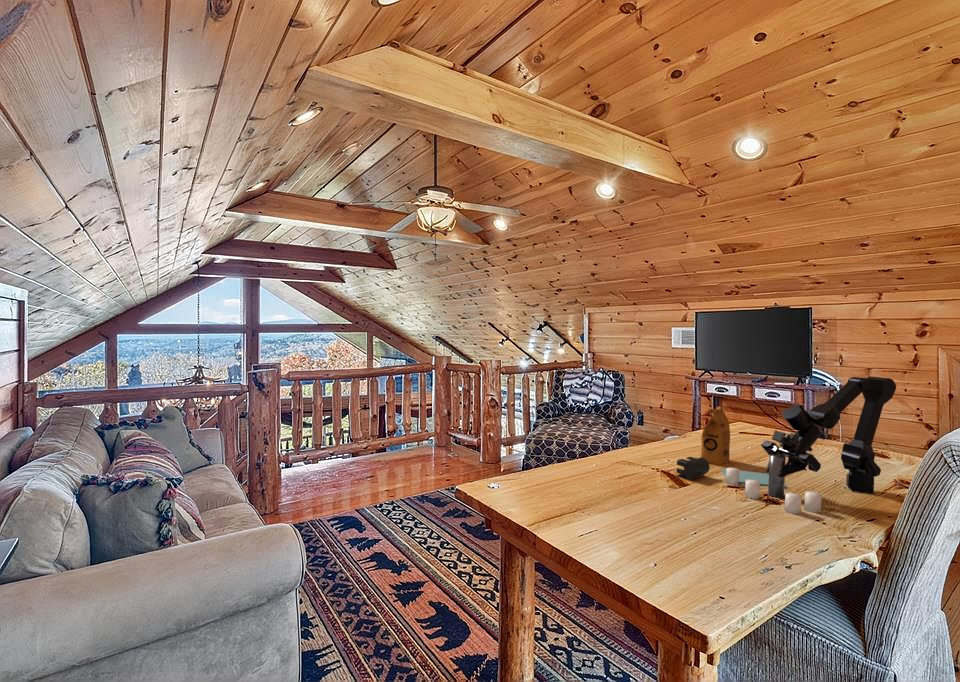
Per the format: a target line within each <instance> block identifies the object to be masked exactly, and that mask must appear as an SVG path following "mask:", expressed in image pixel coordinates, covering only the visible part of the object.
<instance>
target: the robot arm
mask: <svg viewBox="0 0 960 682" xmlns="http://www.w3.org/2000/svg"><path fill="white" fill-rule="evenodd" d="M896 390H897V384H896V383H895V381H894V379H892V378H890V377H889V378H888V377H882V376H881V377H880V376H868V377H860V376H859V377H858V376H852V377H849V378H848V379H847V382H846V383H845V384H844V385H843V386H842V387H840V389H838V390H837V391H836V392H835V393H834V394H833V395H832V396H831V397H830V398H829V399H828V400H826V401H825V402H824V403H820V404H817V405H815V406H814V407H812V408H811V409H810V410H808V411H807V410H806V408H804V406H803V404H799V403H795V404H794V405H793V406H789V407H787V408H785V409H783V411H782V413H781V416H782V417H783V420H785V421H786V422H787V423H788V425H789V426H790V427H791V428H792V429H793V430H794V431H795V433H792V432H790V433H786V432H782V431H779V430H774V433H773V435H772V437H771V440H772V441H769V440H763V442H762V443H761V444H760V446H761V447H762V449H763V450H764V451H765V452H766V453H767V454H768V456H770V454H777V455H782V456H785V457H786V458H787V462H785V466H784V467H783V468H782V470H781V471H780V472H779V474H778V476H779V477H780V478H781V477H784V476H785V477H787V476H789V475H792V474H795V473H798V472H803V471H805V472H806V471H807V467H808V470H809V471H812V472H815V473H818V472H819V471H820V470H821V468H822V467H821V466H822V464H821V463H820V461H819V459H817V458H816V457H815V456H814V454H812V453H809V452H812V451H813V450H814V449H813V448H812V446H813V445H814V444H815V443H816V441H817V440H818V439H819V440H824V441H825V440H826V434H825V431H824V430H821V428H823V429H827V430H828V429H829V430H831V429H833V428H834V427H835V426H836V424H838V422H839V421H840V420H841V413H842V412H843V411H844V410H845V409H846V408H848V406H849V405H850V404H851V403H852V402H853V401H854V400H856V399H857V397H858V396H860V395H861V394H862V396H863V399H864V402H863V406H862V410H861V412H860V415H859V418H858V422H857V426H856V429H855V432H854V435H853V439H852V441H850V442H849V443H846V442H845V443H843V445H842V450H841V452H839V453H840V455H841V456H840V459H841V461H842V466H843V468H844V470H848V473H846V481H845V485H847V486H848V487H847V486H846V487H847V488H848V489H849V490H850V491H851V490H852V492H855V491H859V492H858V493H863V492H867V493H866V494H870V493H876V491H875V490H874V489H875V478H877V477H879V476H880V475H881V472H882V468H881V467H880V466H879V465H878V463H876V462H875V456H876V454H875V450H874V449H873V442H874V439H875V435H876V431H877V427H878V425H879V421H880V419H881V416H882V415H881V414H882V411H883V408H884V406H885V404H886V403H888V402H889V401H890V400H891V399H892V398H893V396H894V395H895V392H896ZM773 441H775V442H773ZM777 443H778V445H777ZM779 446H780V447H781V448H780V447H779ZM766 472H767V474H769V462H768V463H767V467H766Z"/></svg>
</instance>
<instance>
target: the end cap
mask: <svg viewBox="0 0 960 682" xmlns="http://www.w3.org/2000/svg"><path fill="white" fill-rule="evenodd" d="M676 466H680V467H683V469H681V468H676V473H677V474H676V476H677V478H681V479H684V480H693V479H695V478H699V477H702V476H704V475H706V474H708V473H709V471H710V468H711V467H710V463H708V461H707V460H706V459H704V458H702V457H701V456H700V457H698V458H697V457H693V456H687V457H686V459H685V458H679V459H677V460H676Z"/></svg>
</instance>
